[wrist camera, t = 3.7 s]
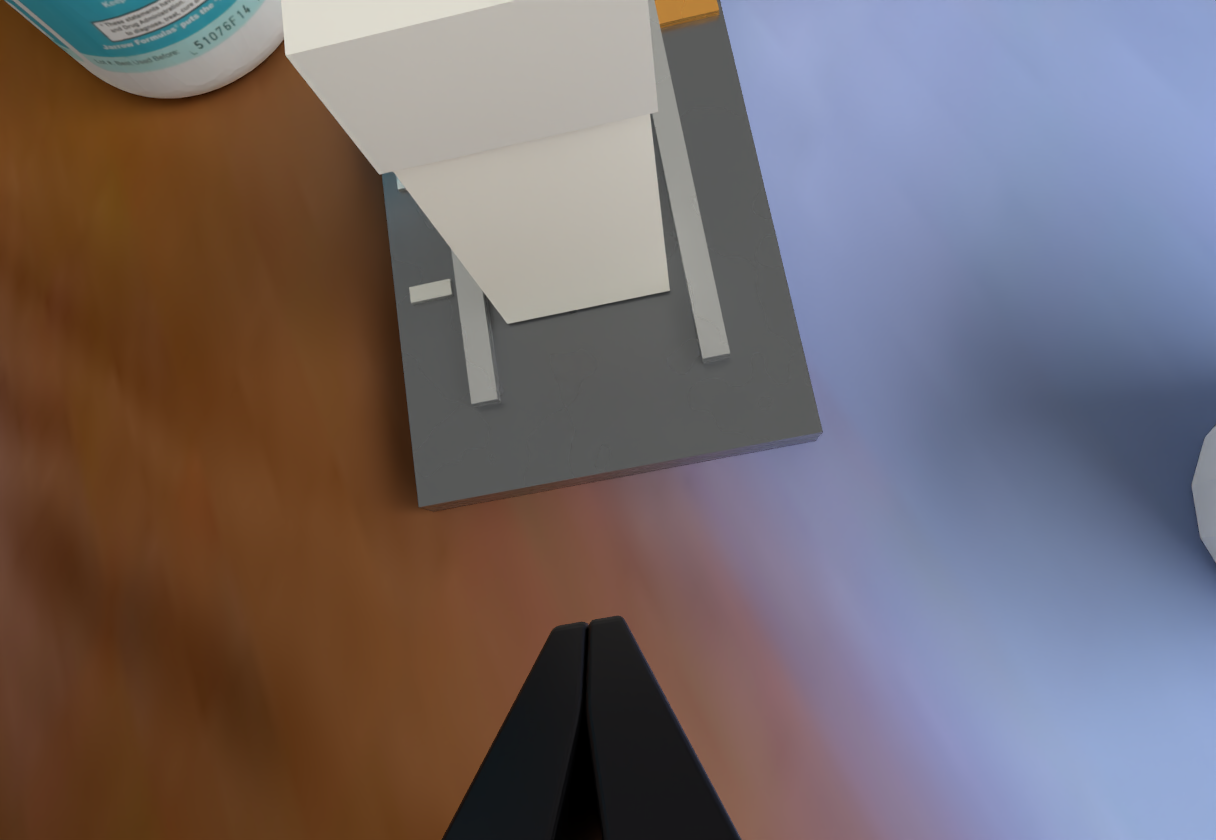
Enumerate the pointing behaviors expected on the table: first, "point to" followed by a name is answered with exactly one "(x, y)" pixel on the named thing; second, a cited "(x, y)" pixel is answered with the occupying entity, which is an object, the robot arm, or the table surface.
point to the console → (615, 319)
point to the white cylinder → (1206, 492)
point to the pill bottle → (161, 40)
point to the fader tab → (505, 134)
